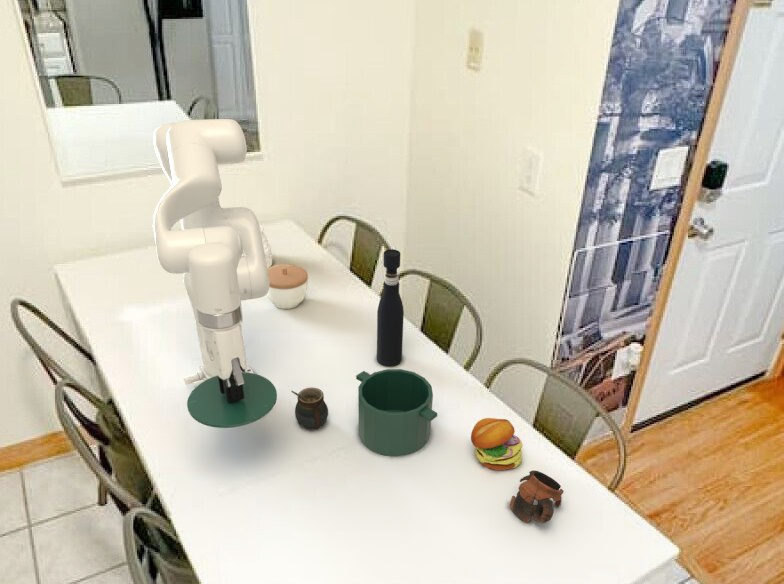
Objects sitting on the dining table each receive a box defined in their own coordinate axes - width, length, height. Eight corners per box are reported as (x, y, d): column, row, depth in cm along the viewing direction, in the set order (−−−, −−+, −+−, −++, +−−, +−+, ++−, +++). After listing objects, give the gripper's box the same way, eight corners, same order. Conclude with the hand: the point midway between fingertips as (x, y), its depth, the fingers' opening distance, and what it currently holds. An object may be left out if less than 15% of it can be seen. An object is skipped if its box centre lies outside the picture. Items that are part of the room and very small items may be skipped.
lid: (223, 443, 114) (218, 416, 111) (170, 403, 122) (164, 377, 119) (295, 401, 125) (292, 375, 122) (242, 367, 133) (238, 342, 130)
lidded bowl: (318, 300, 186) (316, 266, 180) (288, 318, 177) (285, 283, 171) (286, 287, 191) (283, 254, 185) (255, 304, 182) (251, 269, 176)
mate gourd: (334, 427, 142) (333, 391, 136) (302, 438, 138) (300, 402, 132) (320, 408, 146) (318, 373, 141) (289, 419, 143) (286, 384, 137)
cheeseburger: (510, 482, 131) (505, 442, 126) (465, 470, 136) (458, 431, 132) (531, 453, 138) (527, 415, 133) (487, 443, 144) (482, 406, 139)
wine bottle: (398, 368, 161) (402, 260, 144) (373, 364, 162) (374, 256, 145) (404, 354, 166) (408, 248, 149) (380, 350, 167) (382, 245, 150)
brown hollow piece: (500, 496, 128) (519, 462, 126) (538, 509, 131) (558, 476, 130) (520, 531, 117) (542, 494, 115) (561, 545, 120) (583, 509, 119)
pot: (406, 473, 131) (408, 431, 125) (335, 427, 142) (333, 386, 135) (453, 436, 141) (457, 395, 135) (383, 395, 152) (384, 355, 145)
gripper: (183, 298, 116) (198, 380, 126) (215, 341, 105) (229, 426, 116) (223, 288, 120) (235, 368, 130) (258, 328, 109) (268, 412, 120)
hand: (232, 395), depth 123 cm, fingers closed on lid, 2 cm apart
